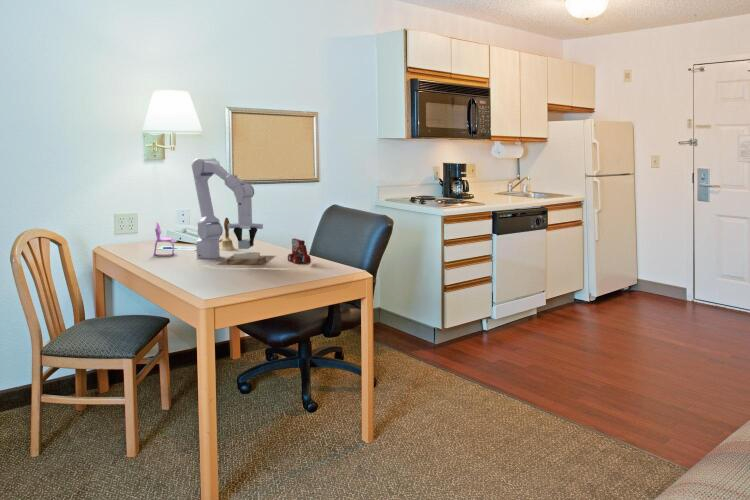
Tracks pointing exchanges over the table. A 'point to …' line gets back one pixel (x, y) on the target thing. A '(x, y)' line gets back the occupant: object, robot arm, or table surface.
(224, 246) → the hand bell
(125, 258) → the table surface
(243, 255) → the tall white pillar block
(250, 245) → the robot arm
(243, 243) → the pale blue rectangular block
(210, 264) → the table surface
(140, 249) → the table surface
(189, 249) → the table surface
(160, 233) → the toy chair
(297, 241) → the toy fire truck
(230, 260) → the jig
